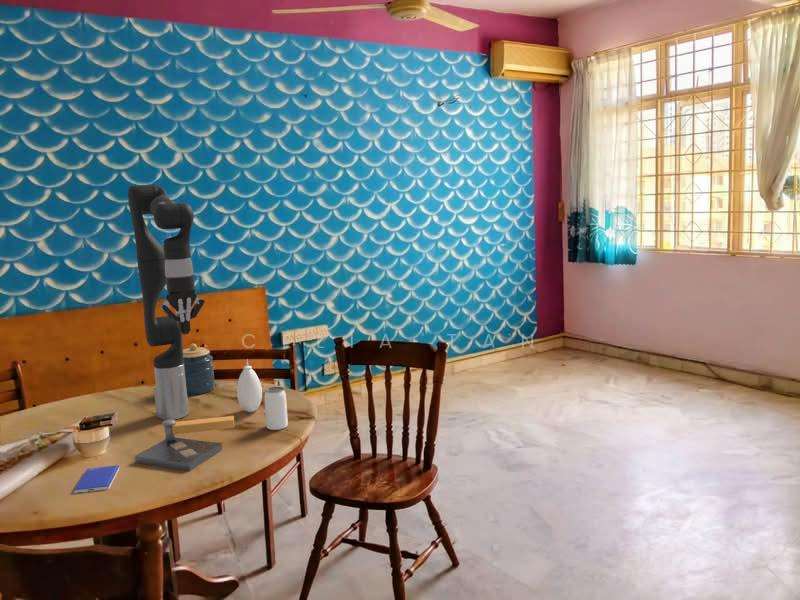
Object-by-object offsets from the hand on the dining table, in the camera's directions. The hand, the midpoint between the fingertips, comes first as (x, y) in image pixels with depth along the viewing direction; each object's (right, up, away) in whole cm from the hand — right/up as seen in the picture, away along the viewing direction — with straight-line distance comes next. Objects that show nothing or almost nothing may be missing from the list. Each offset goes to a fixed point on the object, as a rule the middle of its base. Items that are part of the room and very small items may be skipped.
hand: (185, 333), depth 186 cm
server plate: (+1, -34, -7) cm, 34 cm away
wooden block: (+4, -30, +1) cm, 30 cm away
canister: (-13, -24, +53) cm, 59 cm away
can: (+24, -30, +13) cm, 40 cm away
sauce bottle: (+13, -27, +28) cm, 41 cm away
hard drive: (-16, -37, -20) cm, 45 cm away
